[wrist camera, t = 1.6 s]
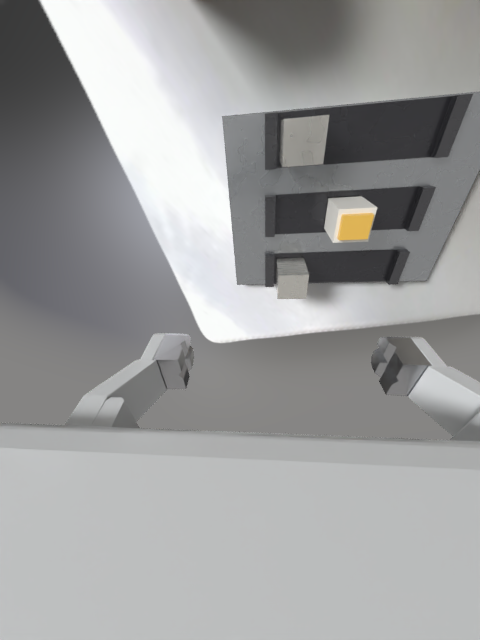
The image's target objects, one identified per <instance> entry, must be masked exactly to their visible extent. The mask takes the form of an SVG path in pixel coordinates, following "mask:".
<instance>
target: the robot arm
mask: <svg viewBox="0 0 480 640" xmlns="http://www.w3.org/2000/svg"><path fill="white" fill-rule="evenodd" d="M190 343H191V338H190V335H188V334H171V333H166V334H165V333H155V334H154V335H153V336H152V338H151V340H150V342H149V344H148V345H147V347H146V349H145V351H144V353H143V355H142V357H141V359H140V360H136V361H134V362H133V363H131V364H130V365H128V366H127V367H125V368H124V369H122V370H121V371H119V372H118V373H116V374H115V375H113V376H112V377H111V378H109V379H108V380H106V381H105V382H103V383H102V384H100V385H99V386H97V387H96V388H94V389H93V390H91V391H90V392H88V393H87V394H85V395H84V396H83V398H82V400H81V401H80V402H79V404H78V406H77V407H76V408H75V410H74V411H73V413H72V414H71V416H70V417H69V419H68V420H67V422H66V423H65V425H45V424H21V423H0V640H480V382H479V381H477V380H475V379H473V378H472V377H470V376H468V375H466V374H464V373H463V372H461V371H459V370H457V369H455V368H453V367H452V366H446V364H445V363H444V362H443V361H442V359H441V358H440V357H439V356H438V355H437V354H436V352H435V351H434V350H433V349H432V347H431V346H430V345H429V344H428V343H427V342H426V340H425V339H423V338H422V337H381V338H380V339H379V341H378V343H377V345H378V346H379V348H378V349H376V350H375V351H374V352H373V354H372V357H371V364H372V368H373V370H374V372H375V373H376V374H377V375H378V376H380V377H381V378H380V381H379V382H380V384H381V386H382V388H383V390H384V392H385V394H386V395H397V396H408V398H409V399H410V400H412V401H413V402H414V403H415V404H416V405H417V406H418V407H420V408H421V409H422V410H423V411H425V413H427V414H428V415H429V416H430V417H431V418H432V419H434V420H435V421H436V422H437V423H438V424H439V425H440V426H442V427H443V428H444V429H445V430H446V431H447V432H449V433H450V434H451V435H452V436H453V437H452V438H451V439H450V440H430V439H404V438H377V437H351V436H326V435H300V434H275V433H274V434H273V433H250V432H249V433H247V432H223V431H199V430H198V431H197V430H172V429H148V428H139V426H138V424H137V423H136V422H137V421H138V420H139V419H140V417H141V416H142V415H143V414H144V413H145V412H146V411H147V410H148V409H149V408H150V407H151V406H152V405H153V404H154V403H155V402H156V401H157V400H158V399H159V398H160V396H162V395H163V394H164V393H165V392H166V390H167V389H186V388H187V384H188V380H189V372H188V371H190V370H191V369H192V366H193V359H194V352H193V348H192V347H191V346H190Z"/></svg>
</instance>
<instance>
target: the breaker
mask: <svg viewBox="0 0 480 640" xmlns="http://www.w3.org/2000/svg"><path fill="white" fill-rule="evenodd" d="M376 211H377V207H376V206H375V205H373V204H372V203H371V202H369V201H368V200H366V199H365V198H363V197H362V196H357V197H340V198H328V205H327V212H326V218H325V225H324V229H325V231H326V232H327V234H328V236H329V237H330V239H331V241H332V242H333V243H342V242H368V240H369V237H370V233H371V229H372V226H373V222H374V218H375V215H376Z"/></svg>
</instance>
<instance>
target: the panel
mask: <svg viewBox="0 0 480 640" xmlns="http://www.w3.org/2000/svg"><path fill="white" fill-rule="evenodd" d="M222 119H223V130H224V142H225V153H226V164H227V176H228V187H229V198H230V209H231V221H232V232H233V243H234V255H235V266H236V277H237V285H247V284H265V287H274V284H276V285H277V297H278V299H306V296H307V288H308V283H341V282H387V283H388V284H398V282H399V281H427V278H428V276H429V274H430V272H431V270H432V268H433V266H434V264H435V262H436V260H437V258H438V256H439V253H440V251H441V249H442V247H443V245H444V243H445V241H446V239H447V237H448V235H449V233H450V231H451V228H452V226H453V224H454V222H455V220H456V218H457V216H458V214H459V212H460V210H461V208H462V206H463V203H464V201H465V199H466V197H467V195H468V193H469V191H470V189H471V187H472V185H473V183H474V181H475V179H476V176H477V174H478V172H479V170H480V92H471V93H461V94H450V95H440V96H429V97H419V98H409V99H398V100H388V101H377V102H367V103H357V104H346V105H336V106H325V107H315V108H304V109H294V110H284V111H273V112H263V113H252V114H242V115H232V116H222ZM357 196H362V197H363V198H365V199H366V200H368V201H369V202H371V203H372V204H373V205H375V206H376V207H377V211H376V215H375V218H374V222H373V226H372V229H371V233H370V237H369V240H368V242H342V243H333V242H332V241H331V239H330V237H329V236H328V234H327V232H326V231H325V229H324V225H325V218H326V212H327V205H328V198H340V197H357Z"/></svg>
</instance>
